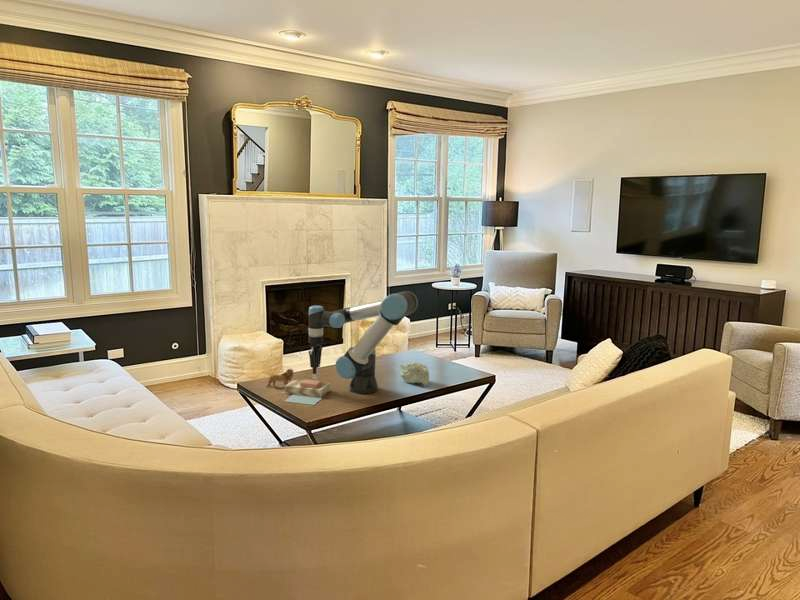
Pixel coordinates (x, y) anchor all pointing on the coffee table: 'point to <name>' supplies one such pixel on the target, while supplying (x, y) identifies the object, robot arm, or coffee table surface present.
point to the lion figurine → (281, 378)
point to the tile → (310, 383)
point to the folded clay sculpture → (415, 373)
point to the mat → (303, 399)
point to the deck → (306, 389)
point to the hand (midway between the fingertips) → (315, 379)
